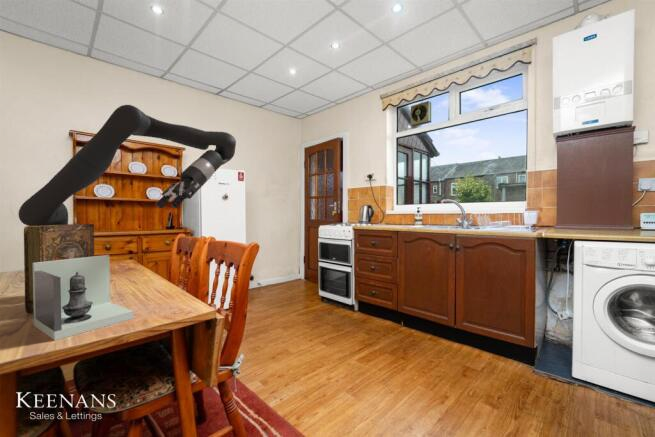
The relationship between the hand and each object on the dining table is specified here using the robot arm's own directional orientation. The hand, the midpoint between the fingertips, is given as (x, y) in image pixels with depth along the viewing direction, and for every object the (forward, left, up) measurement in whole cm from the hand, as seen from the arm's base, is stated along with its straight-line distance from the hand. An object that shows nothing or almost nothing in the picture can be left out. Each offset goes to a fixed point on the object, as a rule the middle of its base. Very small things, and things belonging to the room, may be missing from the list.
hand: (165, 206), depth 91 cm
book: (-23, -19, -31) cm, 43 cm away
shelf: (-2, -20, -31) cm, 37 cm away
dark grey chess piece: (+1, -22, -29) cm, 37 cm away
